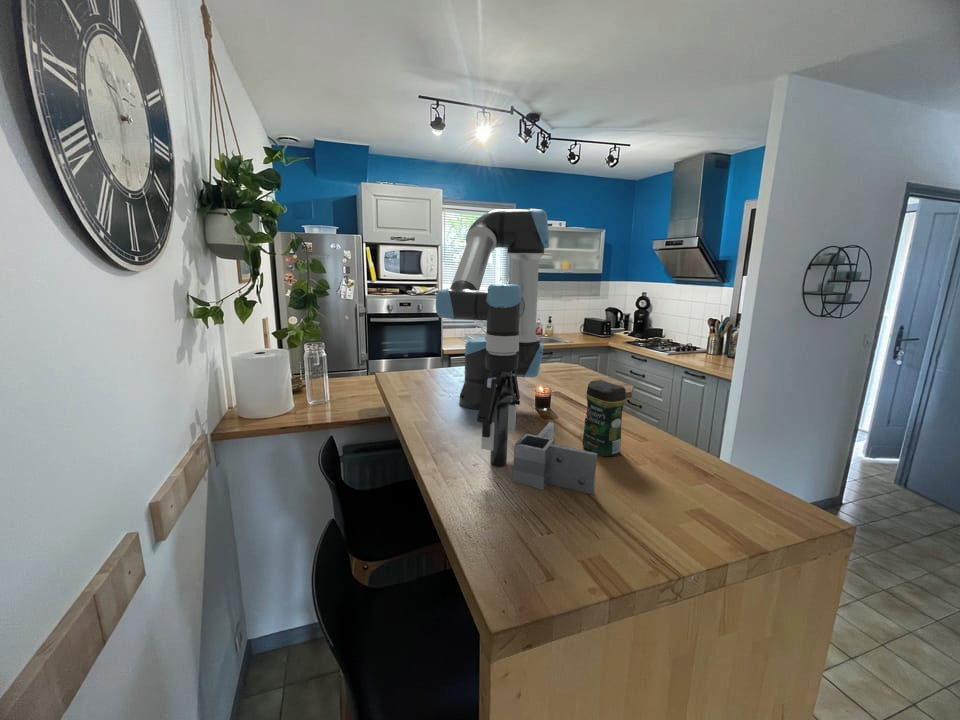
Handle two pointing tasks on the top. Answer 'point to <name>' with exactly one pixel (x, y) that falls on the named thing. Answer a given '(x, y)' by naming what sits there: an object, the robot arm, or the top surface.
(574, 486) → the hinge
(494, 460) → the pin
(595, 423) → the coffee jar
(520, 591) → the top surface
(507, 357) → the robot arm
